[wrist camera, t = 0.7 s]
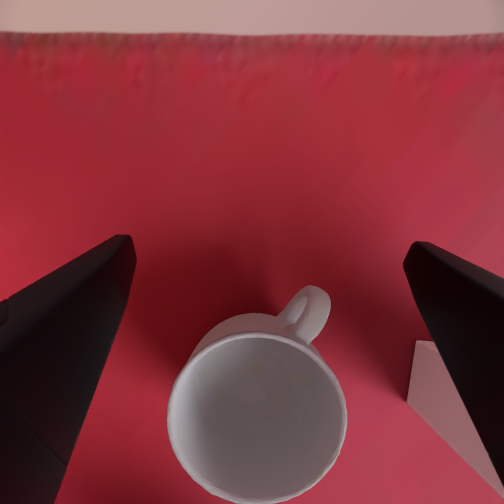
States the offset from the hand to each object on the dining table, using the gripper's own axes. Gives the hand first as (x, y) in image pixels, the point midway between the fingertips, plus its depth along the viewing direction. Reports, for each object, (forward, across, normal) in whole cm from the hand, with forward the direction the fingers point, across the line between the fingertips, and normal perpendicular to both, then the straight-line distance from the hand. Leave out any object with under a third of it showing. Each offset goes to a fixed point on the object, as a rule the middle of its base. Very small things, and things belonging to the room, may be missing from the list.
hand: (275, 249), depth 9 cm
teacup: (+7, -1, +16) cm, 18 cm away
